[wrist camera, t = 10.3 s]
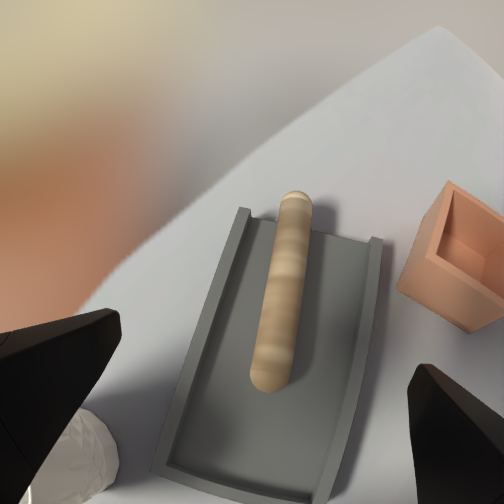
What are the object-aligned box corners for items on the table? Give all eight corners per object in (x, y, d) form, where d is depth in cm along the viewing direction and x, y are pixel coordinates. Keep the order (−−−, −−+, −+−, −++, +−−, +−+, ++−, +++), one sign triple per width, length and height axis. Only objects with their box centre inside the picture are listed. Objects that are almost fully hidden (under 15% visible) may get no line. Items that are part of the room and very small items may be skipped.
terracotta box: (469, 333, 18) (509, 313, 14) (395, 288, 20) (424, 257, 16) (487, 259, 21) (520, 229, 16) (423, 217, 23) (448, 180, 18)
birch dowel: (287, 401, 15) (336, 172, 16) (246, 394, 15) (298, 161, 16) (273, 371, 21) (310, 200, 22) (242, 365, 21) (281, 192, 22)
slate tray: (315, 506, 14) (321, 517, 12) (161, 464, 16) (149, 471, 14) (373, 254, 22) (382, 239, 20) (241, 223, 23) (239, 206, 21)
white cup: (132, 412, 17) (33, 408, 8) (126, 513, 14) (40, 561, 5) (44, 386, 18) (-57, 358, 9) (39, 476, 14) (-57, 484, 5)
